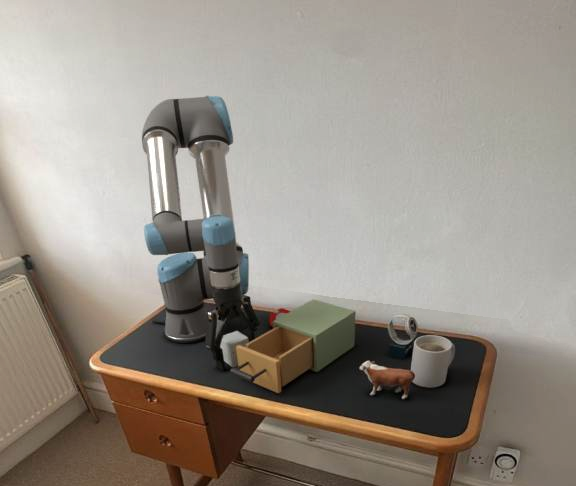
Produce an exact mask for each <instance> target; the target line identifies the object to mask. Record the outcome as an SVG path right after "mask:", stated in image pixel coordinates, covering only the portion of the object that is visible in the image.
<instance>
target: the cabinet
mask: <svg viewBox="0 0 576 486" xmlns="http://www.w3.org/2000/svg"><path fill="white" fill-rule="evenodd" d="M290 311H291V312H289V313H287V314H285V315H284V316H282V317H280V318H278V319H276V320H274V321H273V328H272V329H274V328H276V327H277V326H279V327H282V328H285V329H288V330H291V331H294V332H297V333H300V334H303V335H306V336H309V337H312V338H313V342H314V366H312V367H311V368H310V369H308V370H309V371H312V372H315V373H318V372H320V371H321V370H322V369H323V368H325V367H326V366H328V365H329V364H331V363H332V362H333V361H336V359H338V358H339V357H341V356H342V355H344V354H346V353H347V352H348V351H349V350H351V349H352V348H354V347H355V340H356V339H355V336H356V313H357V312H356V310H354V309H350V308H346V307H343V306H339V305H336V304H332V303H330V302H329V303H328V302H326V301H321V300H318V299H314V298H313V299H310V300H309V301H307V302H306V303H303V304H302V305H300V306H298V307H296V308H294V309H293V310H290Z"/></svg>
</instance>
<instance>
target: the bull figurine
mask: <svg viewBox="0 0 576 486" xmlns="http://www.w3.org/2000/svg"><path fill="white" fill-rule="evenodd" d="M359 370H360V371H363V372H364V373H365V374H366V375H367V378H368V381H370V383H371V384H373V387H372V391H371V392H370V393H369V396H371V397H372V396H375V395H376V391H377V392H380V391H382V390H383V388H382V386H387V387H390V388H393V387H394V386H398V388H396V389H395V390H394V393H397V394H398V393H400V392H402V389H403V391H404V393H403V395H402V396H401V400H405V399H406V398H408V396H409V392H410V391H411V389H410V385H411V384H412V381H413V380H414V378H415V374H414V372H413V371H411V369H402V368H391V367H387V366H384V365H378V364H376V360H372V361H370V360H366V361H364V362H363V363H362V364H361V365H360V366H359Z"/></svg>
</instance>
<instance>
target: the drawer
mask: <svg viewBox="0 0 576 486" xmlns="http://www.w3.org/2000/svg"><path fill="white" fill-rule="evenodd" d="M236 350H237V358H238V365H239V366H236V367H234V368H233V367H231V368H230V371H229V373H230V374H231V375H234V376H236V377H238V378H240V379H243V380H244V381H247V382H248V383H249V382H250V383H253V384H256V385H258V386H260V387H263V388H265V389H267V390H269V391H271V392H274V393H277V394H280V393H281V392H282V391H283V390H282V387H284V386H286V385H288V384H289V383H290V382H292V381H293V380H295V379H297V378H298V377H299V376H301V375H303V374H304V373H305V372H307V371H308V370H309V369H310V368H311V367H312V366H314V342H313V338H312V337H309V336H306V335H303V334H300V333H297V332H294V331H291V330H288V329H285V328H282V327H279V326H277V327H276V328H274V329H273V328H272V329H270V330H268V331H267V332H265V333H263V334H261V335H260V336H258V337H255V339H254V340H253V341H251V342H249V343H247V344H246V347H243V346H241V345H238V346H236Z"/></svg>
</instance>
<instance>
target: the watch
mask: <svg viewBox="0 0 576 486" xmlns="http://www.w3.org/2000/svg"><path fill="white" fill-rule="evenodd" d="M396 319H402V322H403V324H404V329H405V333H406V334H407V335H408V336H409V337H410V339H409V338H406V337H402V336H401V337H400V336H398V335H397V333H396V330H395V326H394V320H396ZM387 332H388V334H389V337H390V339H391V341H392V342H391V343H390V344H389V346H388V356H389V357H394V358H399V359H402V360H404V359H405V358H406V356H407V355H408V354H409V353H410V352H411V351H412V345H413V340H414V339H415V338H416V337H417V335H418V333H419V325H418V322H417V320H416V318H415V317H413V316H411V315H409V314H406V313H399V314H396V315H394V316H393V317H392V318H391V319H390V320H389V322H388V323H387Z"/></svg>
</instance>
